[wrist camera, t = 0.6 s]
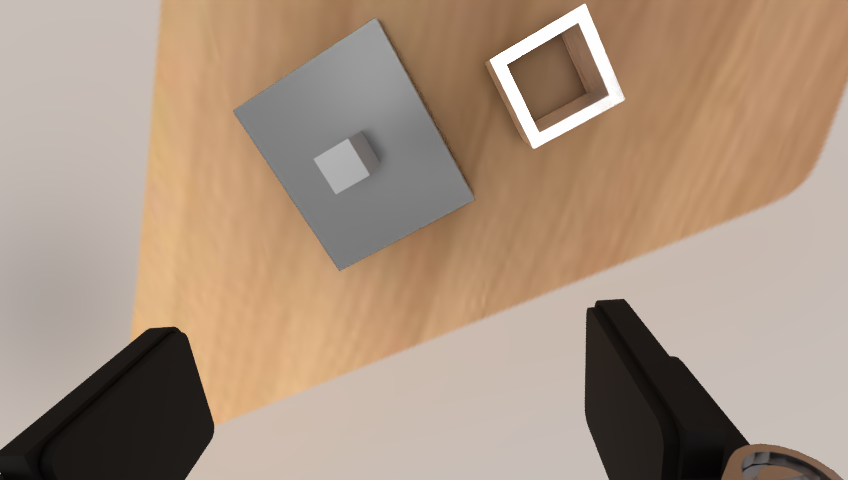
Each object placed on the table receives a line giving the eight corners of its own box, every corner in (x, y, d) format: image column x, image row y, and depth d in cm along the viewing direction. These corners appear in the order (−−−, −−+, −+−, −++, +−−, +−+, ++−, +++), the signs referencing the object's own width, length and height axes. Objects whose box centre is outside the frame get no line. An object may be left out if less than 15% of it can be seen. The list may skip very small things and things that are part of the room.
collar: (564, 15, 31) (585, 3, 26) (599, 97, 32) (625, 99, 28) (484, 63, 32) (490, 59, 27) (521, 139, 34) (533, 148, 29)
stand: (378, 20, 31) (363, 7, 26) (473, 194, 35) (478, 216, 29) (241, 109, 34) (199, 115, 28) (343, 263, 38) (324, 296, 32)
